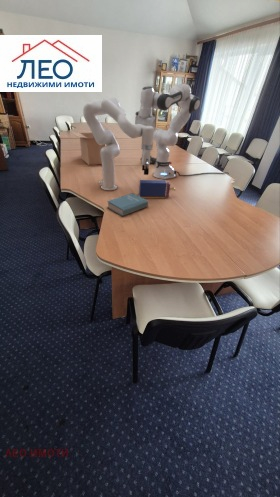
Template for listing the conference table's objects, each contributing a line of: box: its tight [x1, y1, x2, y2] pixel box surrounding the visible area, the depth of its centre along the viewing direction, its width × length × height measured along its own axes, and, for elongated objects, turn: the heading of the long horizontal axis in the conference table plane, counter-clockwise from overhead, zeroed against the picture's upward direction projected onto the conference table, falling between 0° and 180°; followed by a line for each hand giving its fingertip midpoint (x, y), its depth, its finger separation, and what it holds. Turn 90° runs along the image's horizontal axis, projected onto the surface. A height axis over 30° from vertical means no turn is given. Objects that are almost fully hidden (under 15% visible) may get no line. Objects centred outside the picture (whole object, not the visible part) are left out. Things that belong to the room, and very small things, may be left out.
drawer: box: [165, 181, 177, 198], centre depth 168 cm, size 23×5×10 cm, turn 97°
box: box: [70, 130, 106, 166], centre depth 229 cm, size 44×36×27 cm
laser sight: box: [139, 155, 157, 165], centre depth 240 cm, size 10×22×10 cm, turn 78°
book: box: [107, 192, 149, 217], centre depth 151 cm, size 23×16×5 cm
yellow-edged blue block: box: [138, 179, 167, 199], centre depth 167 cm, size 20×6×12 cm, turn 97°
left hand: (145, 172), depth 159 cm, fingers open, 9 cm apart
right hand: (144, 135), depth 169 cm, fingers open, 8 cm apart
